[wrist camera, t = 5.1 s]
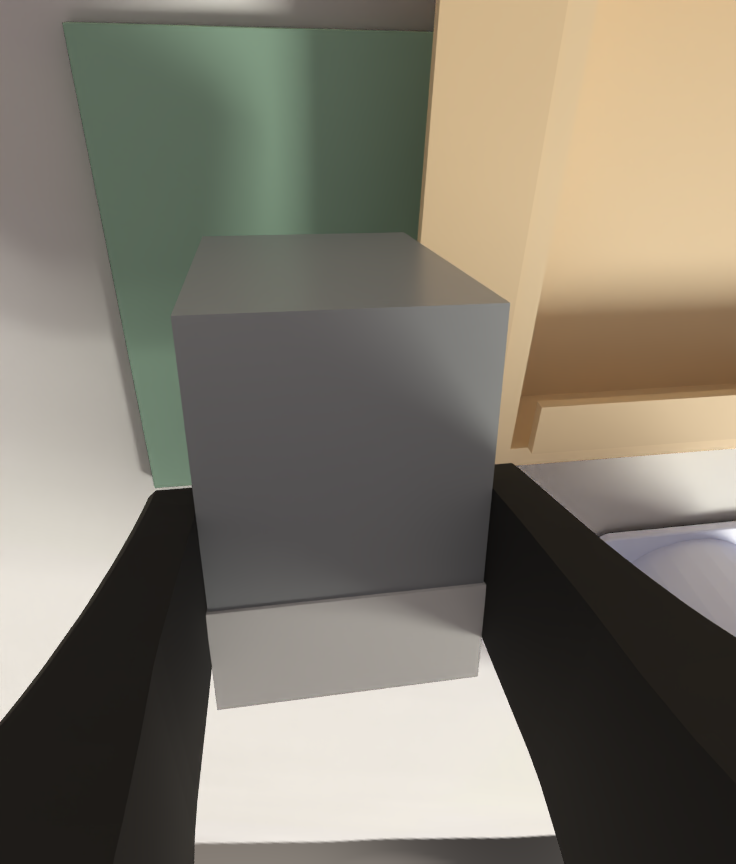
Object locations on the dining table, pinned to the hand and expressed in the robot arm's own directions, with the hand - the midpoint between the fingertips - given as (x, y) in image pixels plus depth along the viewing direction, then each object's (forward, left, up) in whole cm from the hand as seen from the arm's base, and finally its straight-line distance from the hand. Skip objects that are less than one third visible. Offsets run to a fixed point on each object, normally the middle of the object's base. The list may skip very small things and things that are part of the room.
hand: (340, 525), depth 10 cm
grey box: (0, 0, -5) cm, 5 cm away
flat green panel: (0, 0, -9) cm, 9 cm away
